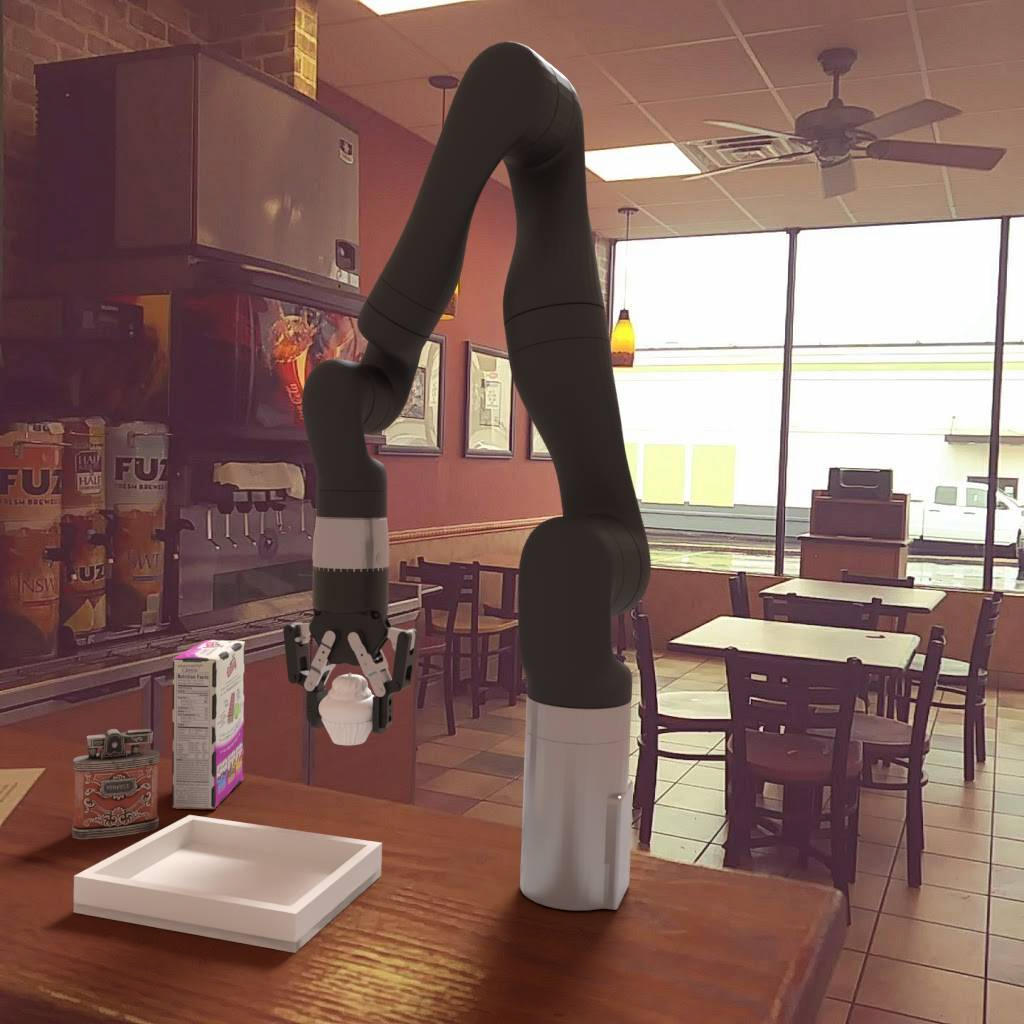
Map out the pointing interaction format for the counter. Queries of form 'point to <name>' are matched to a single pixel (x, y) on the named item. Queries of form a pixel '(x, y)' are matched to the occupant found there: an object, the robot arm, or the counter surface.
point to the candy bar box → (207, 723)
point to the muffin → (348, 710)
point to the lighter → (116, 786)
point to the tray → (231, 881)
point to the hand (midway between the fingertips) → (348, 728)
